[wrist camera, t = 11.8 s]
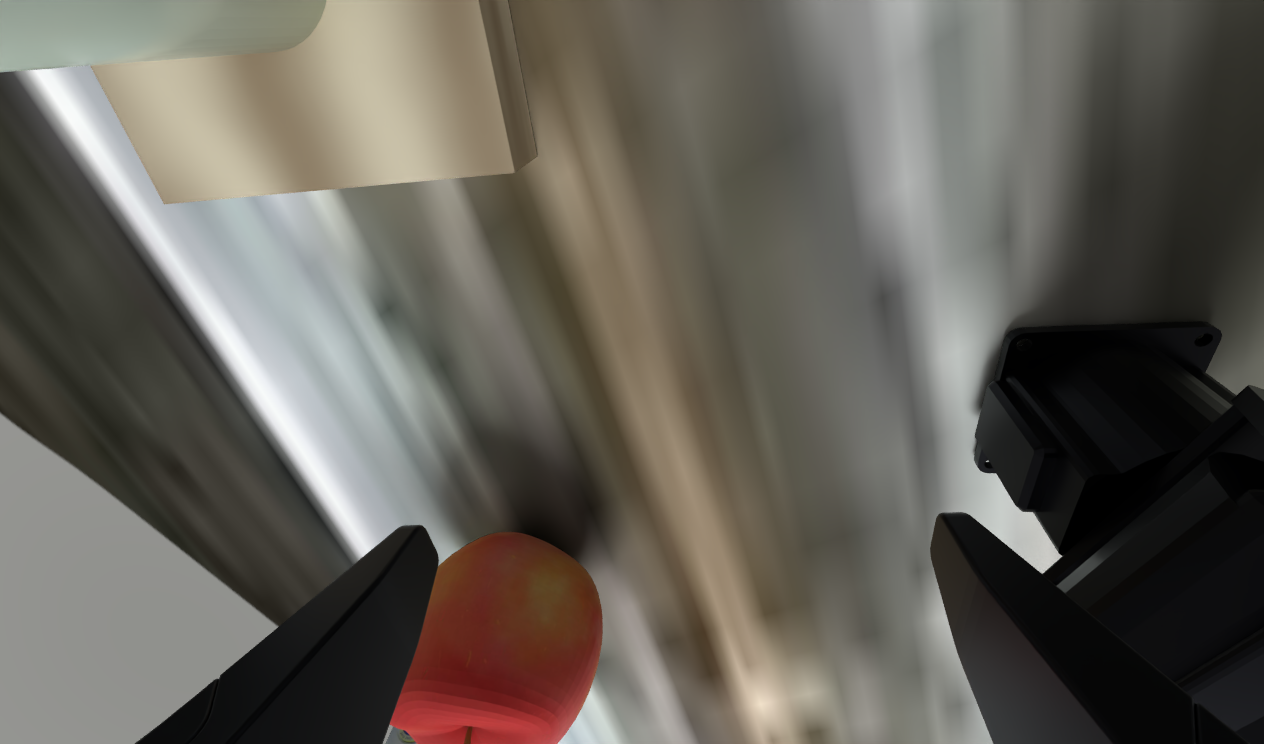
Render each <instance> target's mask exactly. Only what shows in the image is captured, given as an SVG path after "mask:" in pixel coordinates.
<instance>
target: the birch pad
mask: <svg viewBox="0 0 1264 744" xmlns="http://www.w3.org/2000/svg"><path fill="white" fill-rule="evenodd" d="M91 68H92V70H93V72H94V74H95V75H96V77H97V79H98V81H99V83H100V85H101V87H102V89H103V90H104V92H105V94H106V96H107V98H108V100H109V102H110V104H111V105H112V107H113V109H114V111H115V113H116V115H117V117H118V119H119V120H120V122H121V124H122V126H123V128H124V130H125V132H126V134H127V135H128V137H129V139H130V141H131V143H132V145H133V147H134V149H135V150H136V152H137V154H138V156H139V158H140V160H141V162H142V164H143V165H144V167H145V169H146V171H147V173H148V175H149V177H150V179H151V180H152V182H153V184H154V186H155V188H156V190H157V192H158V194H159V196H160V197H161V199H162V201H163V203H164V204H172V203H183V202H194V201H205V200H217V199H228V198H239V197H250V196H261V195H272V194H283V193H295V192H306V191H317V190H328V189H339V188H350V187H362V186H373V185H384V184H395V183H406V182H417V181H428V180H440V179H451V178H462V177H473V176H484V175H495V174H507V173H515V172H517V171H518V170H519V169H521V168H522V167H523V166H525V165H526V164H528V163H529V162H530V161H532V160H533V159H534V158H536V157H537V152H536V146H535V141H534V136H533V131H532V125H531V120H530V115H529V109H528V104H527V99H526V93H525V88H524V83H523V77H522V72H521V67H520V62H519V56H518V51H517V46H516V40H515V35H514V30H513V24H512V19H511V14H510V9H509V3H508V0H326V5H325V9H324V11H323V14H322V17H321V19H320V21H319V23H318V25H317V27H316V28H315V29H314V31H313V32H312V33H311V35H310V36H309V37H308V38H306V39H305V40H304V41H303V42H302V43H300V44H298V45H297V46H295V47H293V48H290V49H288V50H285V51H279V52H271V53H257V54H243V55H230V56H216V57H202V58H188V59H175V60H161V61H147V62H133V63H120V64H106V65H92V66H91Z"/></svg>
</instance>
